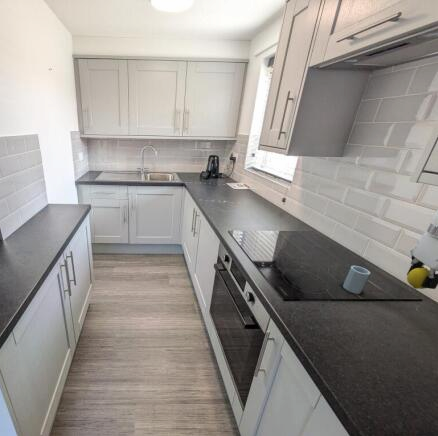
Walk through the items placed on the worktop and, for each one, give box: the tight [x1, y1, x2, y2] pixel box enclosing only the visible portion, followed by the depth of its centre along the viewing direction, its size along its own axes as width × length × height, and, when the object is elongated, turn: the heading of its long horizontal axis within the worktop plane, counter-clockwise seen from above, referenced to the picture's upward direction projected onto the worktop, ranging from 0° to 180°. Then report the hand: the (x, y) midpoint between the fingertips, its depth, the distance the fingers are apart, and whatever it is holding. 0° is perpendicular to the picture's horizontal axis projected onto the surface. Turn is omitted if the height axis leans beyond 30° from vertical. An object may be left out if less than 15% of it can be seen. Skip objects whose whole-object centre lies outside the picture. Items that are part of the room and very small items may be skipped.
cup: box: [342, 265, 371, 295], centre depth 89 cm, size 6×6×9 cm
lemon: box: [406, 267, 430, 290], centre depth 76 cm, size 6×6×8 cm
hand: (420, 281), depth 76 cm, fingers closed on lemon, 5 cm apart
